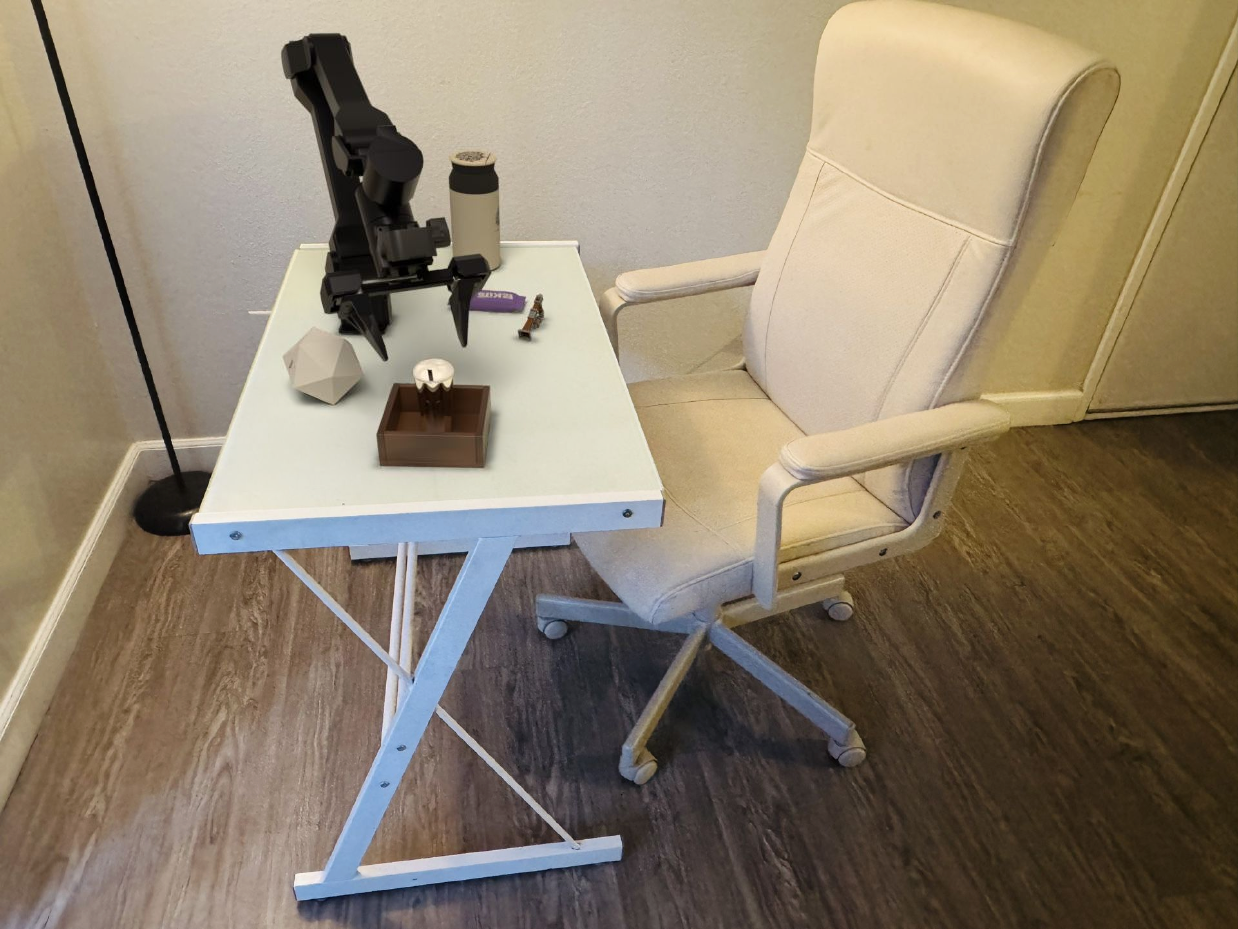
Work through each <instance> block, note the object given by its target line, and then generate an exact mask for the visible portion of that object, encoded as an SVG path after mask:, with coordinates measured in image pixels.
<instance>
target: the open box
mask: <svg viewBox="0 0 1238 929" xmlns="http://www.w3.org/2000/svg"><path fill="white" fill-rule="evenodd" d="M491 397H492V396H491V385H487V384H486V385H484V384H454V383H453V393H452V427H451V432H423V426H422V420H421V414H420V408H419V402H418V396H417V391H416V386H415V382H413V383H411V382H409V383H408V382H407V383H406V382H393V383H392V386H391V389H390V392H389V395H388V398H387V401H386V404H385V407H384V409H383V413H382V416H381V419H380V423H379V425H378V428H377V431H376V434H375V435H376V445H377V452H378V461H379V466H381V467H382V466H383V467H433V468H434V467H436V468H437V467H439V468H485V462H486V455H487V447H488V440H489V433H490V432H489V431H490V426H491V417H492V403H491V402H492V400H491Z"/></svg>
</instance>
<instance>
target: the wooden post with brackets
mask: <svg viewBox="0 0 1238 929" xmlns="http://www.w3.org/2000/svg"><path fill="white" fill-rule="evenodd" d="M543 301H544V295H543V294H542V293H539V294H536V296H535V298H534V300H533V305H532V308H530V310H529V311H528V312H529V313H528V315H527V316H526V317H527V320H526V321H525V323H524V325H523V327H522V328H518V330H517V335H518V338H519V340H524V341H530V342H532V335H531V332H532V328H533V329H537V328H540V324H542V319H544V318H545V310H544V308H543Z"/></svg>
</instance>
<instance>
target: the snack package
mask: <svg viewBox="0 0 1238 929" xmlns="http://www.w3.org/2000/svg"><path fill="white" fill-rule="evenodd" d="M526 299H527V296H525V295H519V294H517V293H515V292H512V291H506V290H490V289H482V290H481V291H479V292H477V293H476V295H475V296H474V298H473V299H471V302H470V308H469V311H475V312H476V311H477V312H489V313H490V312H491V313H492V312H493V313H512V312H515V311H517V310H518V311H519V310H521V311H522V310H524V306H525V303H526ZM447 306H450V304H449V301H448V302H447Z"/></svg>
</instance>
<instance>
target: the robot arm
mask: <svg viewBox="0 0 1238 929" xmlns="http://www.w3.org/2000/svg"><path fill="white" fill-rule="evenodd" d="M280 59H281V66H282V70H283V74H284V78H285V79H286V80H289V81H290V85H291V89H292V92H293V96H294V98H295V99H296V100H297V101H298V102H299V103H300V104H301V105H302V107H303V108H304V109H305V110H306V111H307V112H308V113H309V114H310V117H311V121H312V125H313V130H314V135H315V138H316V143H317V147H318V148H317V149H318V152H319V156H320V160H321V164H322V170H323V173H324V177H325V182H326V187H327V192H328V195H329V199H330V204H331V208H332V212H333V217H334V221H335V222H334V225H333V228H332V231H331V235H330V237H329V240H328V249H329V251H327V253H326V259H325V265H324V272H325V274H324V275H323V277H322V279H321V285H320V291H319V296H320V301H321V306H322V309H323V314H325V315H334V314H335V315H336V314H337V318H338V320H340V326H339V327H338V329H337V330H338V333H339V334H340V335H341V334H342V335H362V337H364V338H365V340H366V341H367V342H368V343H369V345H370V346H371V347H372V349H373V350H374V352H376V353H377V355H378V356H379V358H380V359H381V361H383V362H384V363H385V362H388V361H389V354H388V350H387V346H386V343H385V341H384V337H383V335H385V334H386V332H387V330H388V328H389V326H390V325H391V323H392V321H393V307H392V306H393V305H392V296H391V294H397V293H402V292H409V291H411V292H412V291H417V290H424V289H425V290H426V289H433V288H437V287H438V288H439V287H446V288H447V291H448V292H450V293H451V294H450V296H449V298H448V302H449V304H450V305H449V308H450V311H451V315H452V319H453V323H454V327H455V332H456V334H457V338H458V341H459V344H460V345H461V346H460V347H461V348H462V349H464V348H465V349H466V348H467V346H468V342H469V341H468V340H469V322H470V310H469V308H470V302H471V299H473V298H474V296H475V295H476V293H477V292H479V291H481V290H484V289H483V288H484V287H485V286H486V284H487V282H488V280H489V278H490V277H491V275H492V270H490V267H489V264H488V261H487V260H486V259H485V258H484V257H483V256H482V255H481V254H473V255H465V256H457V257H453V256H452V258H451V259H450V262H448V263H449V264H448V266H447V267H446V268H439V269H431V270H430V269H429V266H433V264H434V261H435V260H434V257H438V252H437V251H438V250H437V249H443V248H444V249H445V248H448V247H450V246H452V237H451V233H450V228H449V225H448V223H447V220H446V217H445V216H442V217H433V218H432V217H431V218H428V219H427V220H425V226H421V227H420V224H419V222H418V220H415V217H414V214H413V210H412V205H411V203H410V201H411V200H412V199H413V198H414V196H415V193H416V190H417V187H418V183H419V181H420V177H421V174H422V171H423V169H424V163H425V160H424V155H423V153H422V152H423V151H422V150H421V149H420V148H419V147H418V145H417V144H416V143H415V142H414V141H413V140H411V139H410V138H409V137H407V136H404V135H402V133H401V132H399V131H398V129H397V126H396V125H395V124H393V122H392V120H391V118H390V117H389V115H388V114H387V113H386V112H384V111H382V110H381V109H379V108H377V107H375V106H373V104H372V103H371V101H370V98H369V96H368V94H367V92H366V89H365V87H364V85H363V82H362V80H361V78H360V76H359V73H358V71H357V69H356V66H355V62H354V55H353V50H352V45H351V42H350V41H349V40H348V37H347V35H344V34H341V33H339V32H321V33H320V32H318V33H317V32H316V33H315V32H314V33H313V32H312V33H311V32H310V33H309V34H308V35H304V36H303V37H302V38H301V39H298V40H289V41H288V43H285V44H284V45H283V46H282V49H281V51H280ZM361 177H362V181H361Z"/></svg>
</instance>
